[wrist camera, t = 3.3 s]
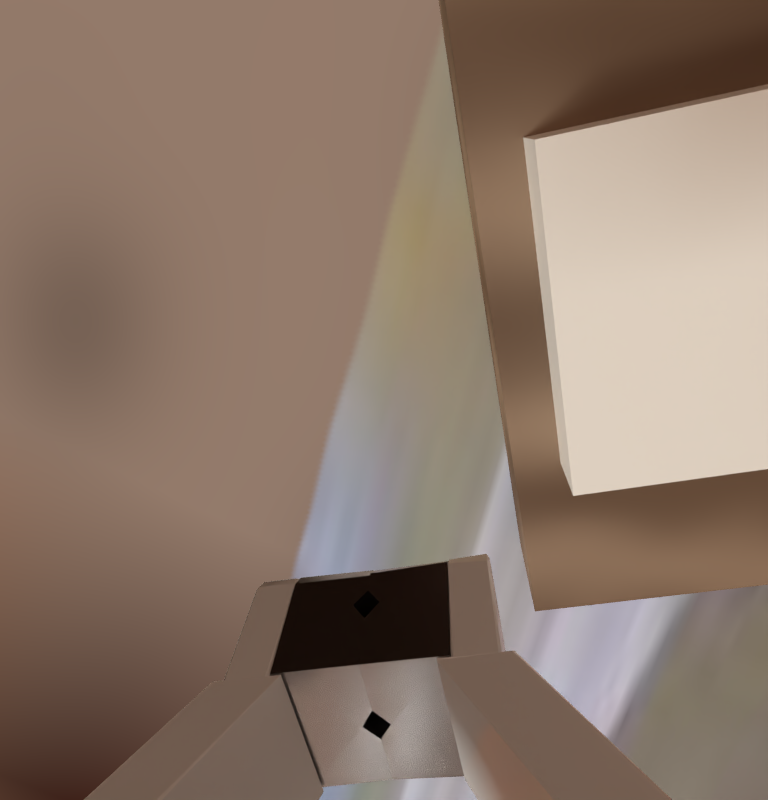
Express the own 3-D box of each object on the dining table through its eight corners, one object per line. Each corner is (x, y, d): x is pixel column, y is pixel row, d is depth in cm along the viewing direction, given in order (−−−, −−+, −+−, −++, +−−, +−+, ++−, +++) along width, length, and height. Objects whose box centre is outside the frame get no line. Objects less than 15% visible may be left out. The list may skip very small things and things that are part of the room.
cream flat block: (790, 429, 20) (826, 460, 18) (560, 462, 21) (573, 495, 19) (805, 76, 16) (853, 70, 14) (522, 137, 17) (534, 140, 15)
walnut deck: (826, 504, 25) (893, 570, 22) (520, 544, 27) (535, 611, 23) (876, -195, 17) (999, -282, 13) (427, -74, 19) (426, -122, 15)
